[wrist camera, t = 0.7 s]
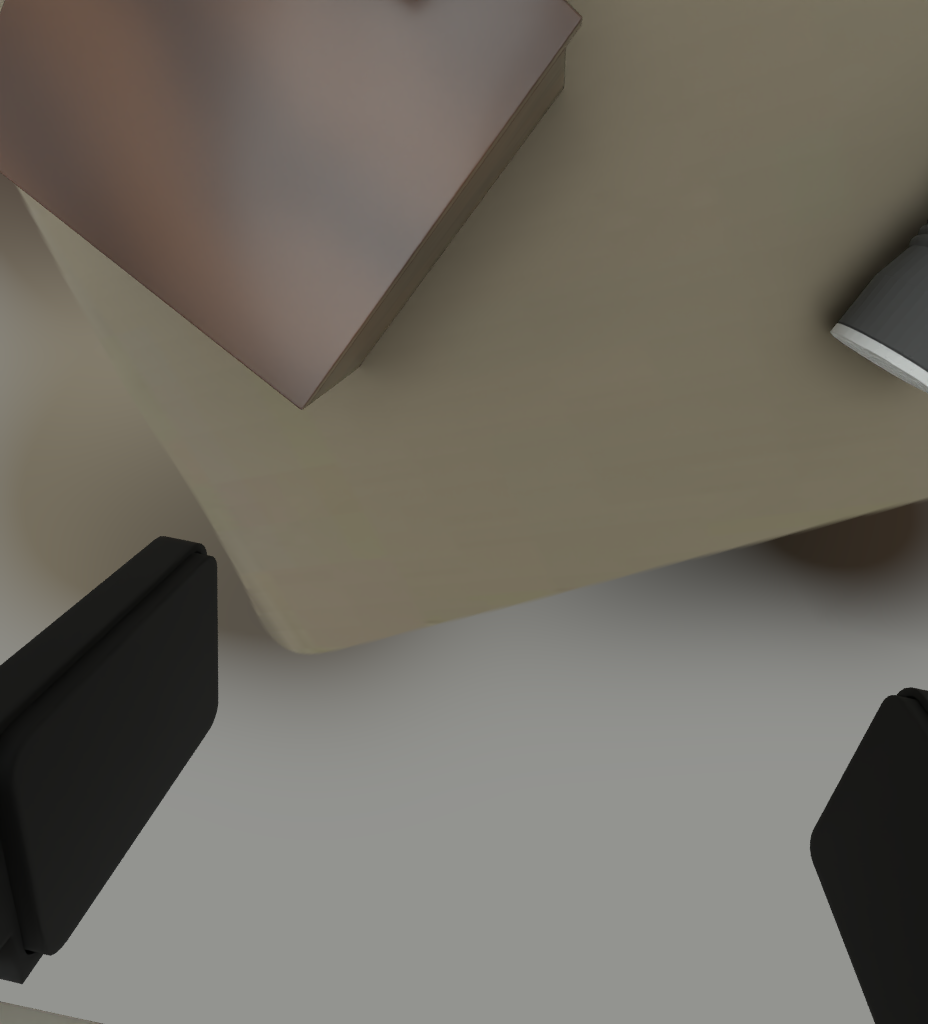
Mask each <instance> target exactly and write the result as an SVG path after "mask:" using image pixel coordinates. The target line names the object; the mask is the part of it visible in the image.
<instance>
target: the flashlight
mask: <svg viewBox="0 0 928 1024" xmlns="http://www.w3.org/2000/svg"><path fill="white" fill-rule="evenodd" d="M830 333H831V334H832V335H833V336H834V337H835V338H836V339H838V340H839V341H841V342H842V343H843V344H845V345H846V346H848V347H849V348H851V349H852V350H854V351H856V352H857V353H859V354H860V355H862V356H863V357H865V358H866V359H868V360H869V361H871V362H873V363H874V364H876V365H878V366H879V367H881V368H883V369H884V370H886V371H888V372H889V373H891V374H893V375H895V376H896V377H898V378H900V379H902V380H903V381H905V382H907V383H909V384H911V385H913V386H914V387H916V388H918V389H920V390H922V391H924V392H926V393H928V221H927V224H925V225H923V226H922V227H921V228H920V229H919V232H918V235H917V236H915V237H913V238H912V239H911V241H910V243H909V248H908V249H906V250H905V251H904V252H903V253H901V254H900V255H899V256H898V257H897V258H895V259H894V260H893V261H892V262H891V263H889V264H888V265H887V266H886V267H885V268H883V269H882V270H881V271H880V272H878V273H877V274H876V275H875V276H874V278H873V279H872V280H871V281H870V283H869V284H868V285H867V286H866V288H865V289H864V290H863V291H862V293H861V294H860V295H859V296H858V298H857V299H856V300H855V301H854V303H853V304H852V305H851V306H850V308H849V309H848V310H847V311H846V313H845V314H844V315H843V316H842V318H841V319H840V320H839V321H838V323H837V324H836V325H835V326H834V327H833V329H832V330H831V331H830Z"/></svg>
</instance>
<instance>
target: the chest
mask: <svg viewBox="0 0 928 1024" xmlns="http://www.w3.org/2000/svg"><path fill="white" fill-rule="evenodd" d="M565 51H566V47H565V48H564V50H563V51H562V53H561V54H560V55H559V57H558V58H557V60H556V61H555V62H554V64H553V65H552V67H551V68H550V69H549V71H548V72H547V73H546V75H545V76H544V78H543V79H542V80H541V82H540V83H539V85H538V86H537V87H536V89H535V90H534V92H533V93H532V94H531V96H530V97H529V99H528V100H527V101H526V103H525V104H524V106H523V107H522V108H521V110H520V111H519V112H518V114H517V115H516V117H515V118H514V119H513V121H512V122H511V124H510V125H509V126H508V128H507V129H506V131H505V132H504V133H503V135H502V136H501V138H500V139H499V140H498V142H497V143H496V145H495V146H494V147H493V149H492V150H491V151H490V153H489V154H488V156H487V157H486V158H485V160H484V161H483V163H482V164H481V165H480V167H479V168H478V170H477V171H476V172H475V174H474V175H473V177H472V178H471V179H470V181H469V182H468V184H467V185H466V186H465V188H464V189H463V190H462V192H461V193H460V195H459V196H458V197H457V199H456V200H455V202H454V203H453V204H452V206H451V207H450V209H449V210H448V211H447V213H446V214H445V216H444V217H443V218H442V220H441V221H440V223H439V224H438V225H437V227H436V228H435V229H434V231H433V232H432V234H431V235H430V236H429V238H428V239H427V241H426V242H425V243H424V245H423V246H422V248H421V249H420V250H419V252H418V253H417V255H416V256H415V257H414V259H413V260H412V261H411V263H410V264H409V266H408V267H407V268H406V270H405V271H404V273H403V274H402V275H401V277H400V278H399V280H398V281H397V282H396V284H395V285H394V287H393V288H392V289H391V291H390V292H389V294H388V295H387V296H386V298H385V299H384V300H383V302H382V303H381V305H380V306H379V307H378V309H377V310H376V312H375V313H374V314H373V316H372V317H371V319H370V320H369V321H368V323H367V324H366V326H365V327H364V328H363V330H362V331H361V333H360V334H359V335H358V337H357V338H356V339H355V341H354V342H353V344H352V345H351V346H350V348H349V349H348V351H347V352H346V353H345V355H344V356H343V358H342V359H341V360H340V362H339V363H338V365H337V366H336V367H335V369H334V370H333V372H332V373H331V374H330V376H329V377H328V378H327V380H326V381H325V383H324V384H323V385H322V387H321V388H320V390H319V391H318V392H317V394H316V395H315V397H314V398H313V399H312V401H311V402H310V404H311V403H312V402H313V401H315V400H316V399H317V398H319V397H320V396H321V395H323V394H324V393H325V392H327V391H328V390H329V389H331V388H332V387H333V386H335V385H336V384H337V383H339V382H340V381H341V380H343V379H344V378H345V377H347V376H348V375H350V374H351V373H352V372H353V371H355V370H356V369H357V368H358V367H359V366H360V364H361V363H362V362H363V360H364V359H365V358H366V356H367V355H368V353H369V352H370V351H371V349H372V348H373V347H374V345H375V344H376V343H377V341H378V340H379V338H380V337H381V336H382V334H383V333H384V332H385V330H386V329H387V328H388V326H389V325H390V324H391V322H392V321H393V319H394V318H395V317H396V315H397V314H398V313H399V311H400V310H401V309H402V307H403V306H404V305H405V303H406V302H407V300H408V299H409V298H410V296H411V295H412V294H413V292H414V291H415V290H416V288H417V287H418V285H419V284H420V283H421V281H422V280H423V279H424V277H425V276H426V275H427V273H428V272H429V271H430V269H431V268H432V266H433V265H434V264H435V262H436V261H437V260H438V258H439V257H440V256H441V254H442V253H443V251H444V250H445V249H446V247H447V246H448V245H449V243H450V242H451V241H452V239H453V238H454V237H455V235H456V234H457V232H458V231H459V230H460V228H461V227H462V226H463V224H464V223H465V222H466V220H467V219H468V217H469V216H470V215H471V213H472V212H473V211H474V209H475V208H476V207H477V205H478V204H479V203H480V201H481V200H482V198H483V197H484V196H485V194H486V193H487V192H488V190H489V189H490V188H491V186H492V185H493V183H494V182H495V181H496V179H497V178H498V177H499V175H500V174H501V173H502V171H503V170H504V169H505V167H506V166H507V164H508V163H509V162H510V160H511V159H512V158H513V156H514V155H515V154H516V152H517V151H518V149H519V148H520V147H521V145H522V144H523V143H524V141H525V140H526V139H527V137H528V136H529V135H530V133H531V132H532V130H533V129H534V128H535V126H536V125H537V124H538V122H539V121H540V120H541V118H542V117H543V116H544V114H545V113H546V111H547V110H548V109H549V107H550V106H551V105H552V103H553V102H554V101H555V99H556V98H557V96H558V95H559V94H560V92H561V91H562V90H563V88H564V80H565Z"/></svg>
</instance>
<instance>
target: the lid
mask: <svg viewBox="0 0 928 1024" xmlns="http://www.w3.org/2000/svg"><path fill="white" fill-rule="evenodd" d="M581 24H582V16H581V15H580V14H579V13H578V12H577V11H576V10H575V9H574V8H573V7H572V6H571V5H570V4H569V3H568V2H567V1H566V0H5V1H4V4H3V6H2V9H1V12H0V172H1V173H2V174H3V175H4V176H6V177H7V178H8V179H9V180H11V181H12V182H13V183H14V184H16V185H17V186H18V187H20V188H21V189H22V190H23V191H25V192H26V193H27V194H28V195H30V196H31V197H32V198H33V199H35V200H36V201H37V202H39V203H40V204H41V205H42V206H44V207H45V208H46V209H47V210H49V211H50V212H51V213H52V214H54V215H55V216H56V217H58V218H59V219H60V220H61V221H63V222H64V223H65V224H66V225H68V226H69V227H70V228H71V229H73V230H74V231H75V232H77V233H78V234H79V235H80V236H82V237H83V238H84V239H85V240H87V241H88V242H89V243H90V244H92V245H93V246H94V247H96V248H97V249H98V250H99V251H101V252H102V253H103V254H104V255H106V256H107V257H108V258H109V259H111V260H112V261H113V262H115V263H116V264H117V265H118V266H120V267H121V268H122V269H123V270H125V271H126V272H127V273H128V274H130V275H131V276H132V277H134V278H135V279H136V280H137V281H139V282H140V283H141V284H142V285H144V286H145V287H146V288H147V289H149V290H150V291H151V292H153V293H154V294H155V295H156V296H158V297H159V298H160V299H161V300H163V301H164V302H165V303H166V304H168V305H169V306H170V307H172V308H173V309H174V310H175V311H177V312H178V313H179V314H180V315H182V316H183V317H184V318H185V319H187V320H188V321H189V322H191V323H192V324H193V325H194V326H196V327H197V328H198V329H199V330H201V331H202V332H203V333H204V334H206V335H207V336H208V337H210V338H211V339H212V340H213V341H215V342H216V343H217V344H218V345H220V346H221V347H222V348H223V349H225V350H226V351H227V352H229V353H230V354H231V355H232V356H234V357H235V358H236V359H237V360H239V361H240V362H241V363H242V364H244V365H245V366H246V367H248V368H249V369H250V370H251V371H253V372H254V373H255V374H256V375H258V376H259V377H260V378H261V379H263V380H264V381H265V382H267V383H268V384H269V385H270V386H272V387H273V388H274V389H275V390H277V391H278V392H279V393H280V394H282V395H283V396H284V397H286V398H287V399H288V400H289V401H291V402H292V403H293V404H294V405H296V406H297V407H298V408H299V409H301V410H302V409H304V408H305V407H307V406H308V405H309V404H310V402H311V401H312V399H313V398H314V397H315V395H316V394H317V392H318V391H319V390H320V388H321V387H322V385H323V384H324V383H325V381H326V380H327V378H328V377H329V376H330V374H331V373H332V372H333V370H334V369H335V367H336V366H337V365H338V363H339V362H340V360H341V359H342V358H343V356H344V355H345V353H346V352H347V351H348V349H349V348H350V346H351V345H352V344H353V342H354V341H355V339H356V338H357V337H358V335H359V334H360V333H361V331H362V330H363V328H364V327H365V326H366V324H367V323H368V321H369V320H370V319H371V317H372V316H373V314H374V313H375V312H376V310H377V309H378V307H379V306H380V305H381V303H382V302H383V300H384V299H385V298H386V296H387V295H388V294H389V292H390V291H391V289H392V288H393V287H394V285H395V284H396V282H397V281H398V280H399V278H400V277H401V275H402V274H403V273H404V271H405V270H406V268H407V267H408V266H409V264H410V263H411V261H412V260H413V259H414V257H415V256H416V255H417V253H418V252H419V250H420V249H421V248H422V246H423V245H424V243H425V242H426V241H427V239H428V238H429V236H430V235H431V234H432V232H433V231H434V229H435V228H436V227H437V225H438V224H439V223H440V221H441V220H442V218H443V217H444V216H445V214H446V213H447V211H448V210H449V209H450V207H451V206H452V204H453V203H454V202H455V200H456V199H457V197H458V196H459V195H460V193H461V192H462V190H463V189H464V188H465V186H466V185H467V184H468V182H469V181H470V179H471V178H472V177H473V175H474V174H475V172H476V171H477V170H478V168H479V167H480V165H481V164H482V163H483V161H484V160H485V158H486V157H487V156H488V154H489V153H490V151H491V150H492V149H493V147H494V146H495V145H496V143H497V142H498V140H499V139H500V138H501V136H502V135H503V133H504V132H505V131H506V129H507V128H508V126H509V125H510V124H511V122H512V121H513V119H514V118H515V117H516V115H517V114H518V112H519V111H520V110H521V108H522V107H523V106H524V104H525V103H526V101H527V100H528V99H529V97H530V96H531V94H532V93H533V92H534V90H535V89H536V87H537V86H538V85H539V83H540V82H541V80H542V79H543V78H544V76H545V75H546V73H547V72H548V71H549V69H550V68H551V67H552V65H553V64H554V62H555V61H556V60H557V58H558V57H559V55H560V54H561V53H562V51H563V50H564V48H565V47H566V46H567V44H568V43H569V41H570V40H571V39H572V37H573V36H574V35H575V33H576V32H577V30H578V29H579V28H580V26H581Z"/></svg>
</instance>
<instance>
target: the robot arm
mask: <svg viewBox="0 0 928 1024" xmlns="http://www.w3.org/2000/svg"><path fill="white" fill-rule="evenodd" d="M217 620H218V619H217V563H216V560H215V558H214V557H213V556H208V555H207V552H206V549H205V547H204V546H203V545H202V544H200V543H195V542H190V541H186V540H181V539H175V538H171V537H166V536H160V537H158V538H157V539H155V540H154V541H152V542H151V543H150V544H149V545H148V546H147V547H145V548H144V549H143V550H141V551H140V552H139V553H138V554H137V555H135V556H134V557H133V558H132V559H130V560H129V561H128V562H127V563H126V564H124V565H123V566H122V567H121V568H120V569H118V570H117V571H116V572H114V573H113V574H112V575H111V576H110V577H109V578H107V579H106V580H105V581H103V583H101V584H100V585H99V586H97V587H96V588H95V589H94V590H92V591H91V592H90V593H89V594H88V595H86V596H85V597H84V598H83V599H81V600H80V601H79V602H78V603H76V604H75V605H74V606H73V607H72V608H70V609H69V610H68V611H67V612H65V613H64V614H63V615H62V616H61V617H59V618H58V619H57V620H56V621H55V622H53V623H52V624H51V625H50V626H48V627H47V628H46V629H45V630H43V631H42V632H41V633H40V634H39V635H37V636H36V637H35V638H34V639H32V640H31V641H30V642H29V643H28V644H26V645H25V646H24V647H23V648H21V649H20V650H19V651H18V652H16V653H15V654H14V655H13V656H12V657H10V658H9V659H8V660H7V661H6V662H4V663H3V664H2V665H0V979H3V980H8V981H12V982H16V983H20V984H23V982H24V981H25V980H26V978H27V977H28V975H29V974H30V972H31V971H32V969H33V968H34V967H35V965H36V964H37V962H38V961H39V959H40V958H41V957H42V955H43V954H46V955H53V954H55V953H56V952H57V951H58V950H59V949H60V948H62V946H63V945H64V944H65V942H66V941H67V940H68V938H69V937H70V936H71V934H72V932H73V931H74V930H75V928H76V927H77V925H78V924H79V922H80V921H81V919H82V918H83V916H84V915H85V913H86V912H87V910H88V909H89V907H90V906H91V904H92V903H93V901H94V900H95V898H96V897H97V895H98V894H99V892H100V891H101V890H102V888H103V887H104V885H105V884H106V882H107V880H108V879H109V878H110V876H111V875H112V873H113V872H114V870H115V869H116V867H117V866H118V864H119V863H120V861H121V860H122V858H123V857H124V855H125V854H126V852H127V851H128V850H129V848H130V847H131V845H132V844H133V842H134V841H135V839H136V838H137V836H138V834H139V833H140V832H141V830H142V829H143V827H144V826H145V824H146V823H147V821H148V820H149V818H150V817H151V815H152V814H153V812H154V811H155V809H156V808H157V807H158V805H159V804H160V802H161V801H162V799H163V798H164V796H165V794H166V793H167V792H168V790H169V789H170V787H171V786H172V784H173V783H174V781H175V780H176V778H177V777H178V775H179V774H180V772H181V771H182V769H183V768H184V766H185V765H186V764H187V762H188V761H189V759H190V758H191V756H192V755H193V753H194V752H195V750H196V749H197V747H198V746H199V744H200V743H201V741H202V740H203V738H204V737H205V735H206V734H207V732H208V731H209V729H210V728H211V726H212V724H213V721H214V719H215V715H216V712H217V707H218V625H217V624H218V621H217ZM810 851H811V857H812V861H813V864H814V866H815V869H816V871H817V874H818V877H819V879H820V882H821V884H822V887H823V890H824V892H825V895H826V897H827V900H828V903H829V905H830V908H831V910H832V913H833V916H834V918H835V921H836V923H837V926H838V928H839V931H840V934H841V936H842V939H843V942H844V944H845V947H846V949H847V952H848V954H849V957H850V959H851V962H852V965H853V967H854V970H855V973H856V975H857V978H858V980H859V983H860V986H861V988H862V991H863V993H864V996H865V998H866V1001H867V1004H868V1006H869V1009H870V1012H871V1014H872V1016H873V1019H874V1022H875V1024H928V691H926V690H921V689H916V688H904V689H903V690H901V691H900V692H899V693H898V694H897V695H891V696H888V697H887V698H886V699H885V700H884V701H883V703H882V704H881V706H880V708H879V710H878V712H877V713H876V715H875V717H874V719H873V721H872V723H871V724H870V726H869V728H868V730H867V732H866V734H865V735H864V737H863V739H862V741H861V743H860V745H859V746H858V748H857V750H856V752H855V754H854V756H853V758H852V759H851V761H850V763H849V765H848V767H847V769H846V771H845V772H844V774H843V776H842V778H841V780H840V782H839V784H838V785H837V787H836V789H835V791H834V793H833V794H832V796H831V798H830V800H829V802H828V804H827V806H826V808H825V810H824V811H823V813H822V815H821V817H820V818H819V820H818V822H817V824H816V826H815V828H814V830H813V832H812V835H811V840H810ZM0 1024H101V1023H97V1022H92V1021H88V1020H83V1019H78V1018H74V1017H69V1016H64V1015H59V1014H55V1013H51V1012H46V1011H42V1010H37V1009H33V1008H28V1007H23V1006H19V1005H14V1004H9V1003H5V1002H0Z"/></svg>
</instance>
